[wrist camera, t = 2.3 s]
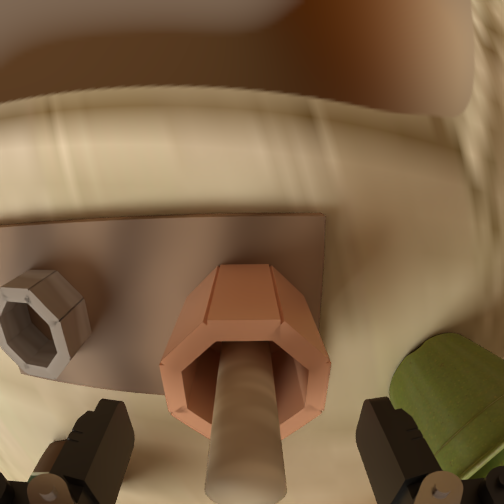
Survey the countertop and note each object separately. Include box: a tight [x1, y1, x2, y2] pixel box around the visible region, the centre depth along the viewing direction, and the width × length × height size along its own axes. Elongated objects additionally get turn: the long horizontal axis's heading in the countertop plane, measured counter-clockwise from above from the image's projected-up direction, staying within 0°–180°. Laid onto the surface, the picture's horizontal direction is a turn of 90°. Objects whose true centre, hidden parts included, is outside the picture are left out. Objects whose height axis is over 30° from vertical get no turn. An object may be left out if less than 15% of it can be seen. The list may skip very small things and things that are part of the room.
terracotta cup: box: [159, 264, 331, 440], centre depth 14 cm, size 6×6×6 cm
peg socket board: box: [0, 213, 326, 395], centre depth 16 cm, size 21×11×4 cm, turn 91°
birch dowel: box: [205, 341, 287, 504], centre depth 12 cm, size 2×2×10 cm
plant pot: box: [389, 333, 504, 480], centre depth 14 cm, size 12×12×11 cm
